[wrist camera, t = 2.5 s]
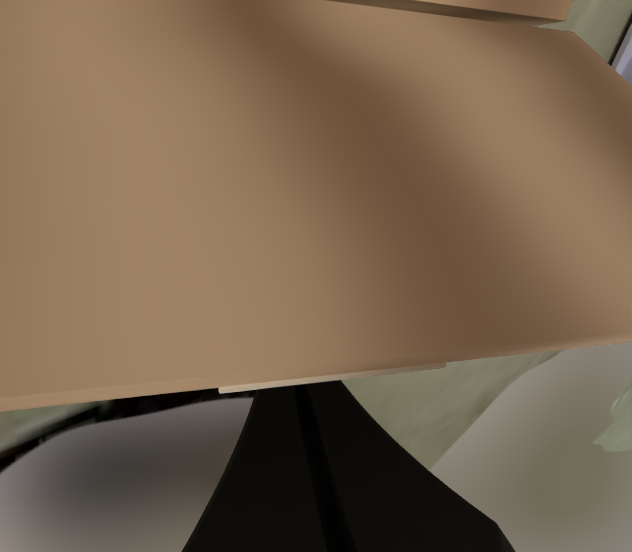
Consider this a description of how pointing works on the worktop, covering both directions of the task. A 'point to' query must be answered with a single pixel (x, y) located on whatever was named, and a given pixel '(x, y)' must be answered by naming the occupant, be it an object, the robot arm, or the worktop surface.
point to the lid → (298, 195)
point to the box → (482, 9)
